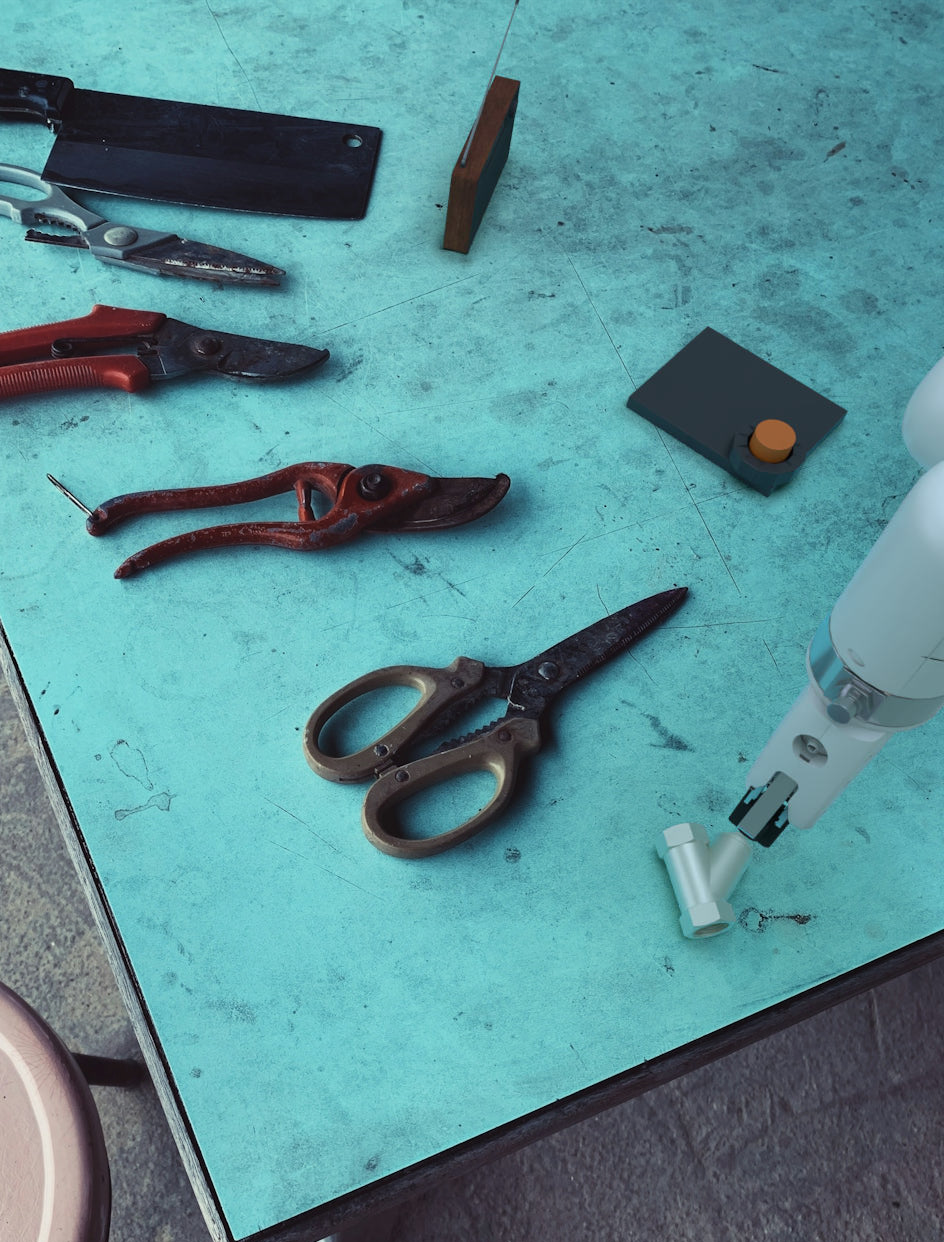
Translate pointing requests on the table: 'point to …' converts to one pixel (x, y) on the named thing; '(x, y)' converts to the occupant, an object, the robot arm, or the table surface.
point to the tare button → (772, 441)
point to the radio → (481, 160)
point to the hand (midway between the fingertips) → (767, 810)
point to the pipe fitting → (704, 875)
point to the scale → (734, 408)
